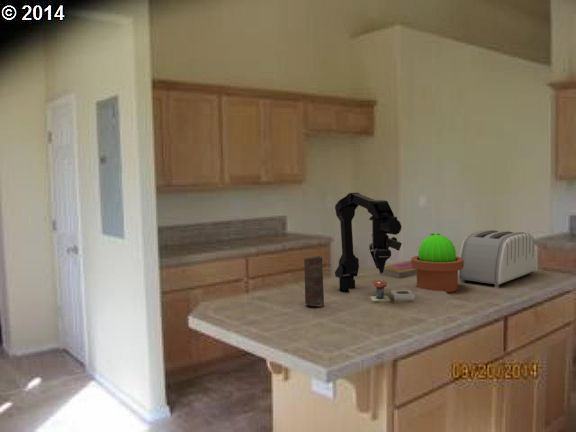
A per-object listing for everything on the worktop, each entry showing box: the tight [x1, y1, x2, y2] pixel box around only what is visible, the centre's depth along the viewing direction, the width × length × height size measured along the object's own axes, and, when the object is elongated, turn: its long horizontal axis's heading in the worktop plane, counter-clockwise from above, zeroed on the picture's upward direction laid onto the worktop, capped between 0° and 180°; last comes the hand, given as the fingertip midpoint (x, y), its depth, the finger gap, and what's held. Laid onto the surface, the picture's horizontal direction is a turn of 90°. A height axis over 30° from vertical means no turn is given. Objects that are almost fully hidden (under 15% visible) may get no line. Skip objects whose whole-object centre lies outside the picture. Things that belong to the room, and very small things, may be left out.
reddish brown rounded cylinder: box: [372, 279, 387, 299], centre depth 215 cm, size 5×5×7 cm
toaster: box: [458, 229, 537, 289], centre depth 256 cm, size 21×45×22 cm, turn 134°
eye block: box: [390, 289, 416, 301], centre depth 215 cm, size 8×8×2 cm
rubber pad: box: [370, 296, 390, 301], centre depth 215 cm, size 7×7×1 cm
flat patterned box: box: [379, 261, 417, 280], centre depth 275 cm, size 35×14×6 cm, turn 128°
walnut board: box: [366, 294, 418, 304], centre depth 215 cm, size 18×13×2 cm
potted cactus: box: [410, 233, 463, 294], centre depth 236 cm, size 22×22×25 cm
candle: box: [303, 255, 325, 308], centre depth 211 cm, size 8×7×20 cm
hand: (379, 270), depth 214 cm, fingers open, 9 cm apart
